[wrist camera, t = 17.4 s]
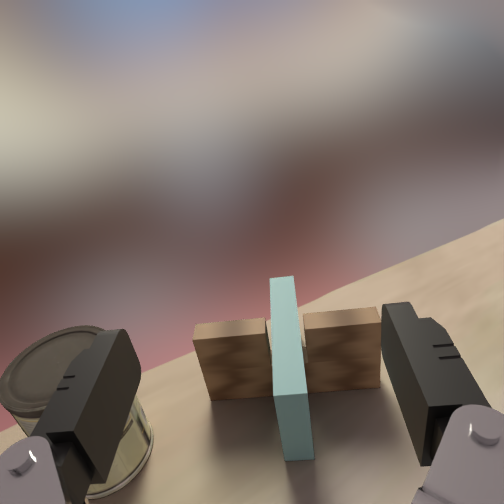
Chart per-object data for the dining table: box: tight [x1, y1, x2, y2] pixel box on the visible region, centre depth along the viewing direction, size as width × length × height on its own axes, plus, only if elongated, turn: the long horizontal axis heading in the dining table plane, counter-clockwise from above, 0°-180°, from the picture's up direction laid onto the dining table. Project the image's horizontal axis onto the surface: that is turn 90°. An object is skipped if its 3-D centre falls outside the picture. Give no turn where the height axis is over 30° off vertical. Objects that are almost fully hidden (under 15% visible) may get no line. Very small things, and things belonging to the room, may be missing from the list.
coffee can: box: [0, 325, 153, 499], centre depth 40 cm, size 10×10×14 cm
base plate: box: [193, 307, 381, 401], centre depth 45 cm, size 20×2×10 cm, turn 88°
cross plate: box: [270, 276, 315, 461], centre depth 44 cm, size 3×18×10 cm, turn 179°
